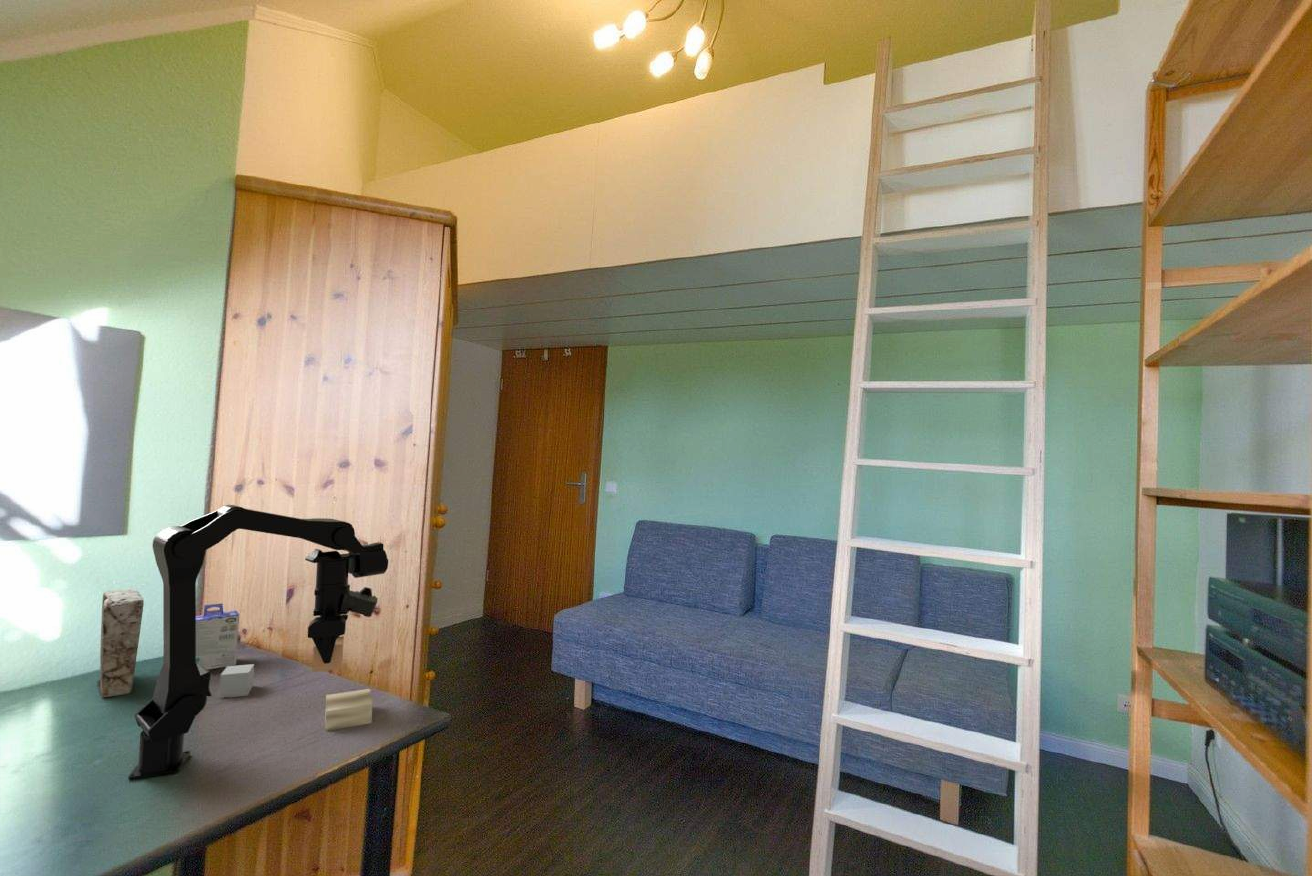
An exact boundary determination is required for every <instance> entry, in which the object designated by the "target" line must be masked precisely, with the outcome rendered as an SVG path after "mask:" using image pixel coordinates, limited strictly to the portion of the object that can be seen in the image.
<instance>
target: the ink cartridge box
mask: <svg viewBox="0 0 1312 876" xmlns="http://www.w3.org/2000/svg"><path fill="white" fill-rule="evenodd" d="M223 605H224V604H223V603H213V604H205V605H204V608H203V614H201V615H196V664H200V665H201V666H202V667H204V668H205V669H206V670H208V671H210V670H214V669H220V668H221V669H222V668H226V667H227V666H237V660H238V659H237V658H238V656H237V655H238V643H239V624H240V614H239V613H238V610H229V611H224V608H223V607H224V606H223ZM212 608H219V609H214V610H208V609H212Z"/></svg>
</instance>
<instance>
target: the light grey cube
mask: <svg viewBox="0 0 1312 876" xmlns="http://www.w3.org/2000/svg"><path fill="white" fill-rule="evenodd" d="M254 673H255V664H254V663H252V664H239V665H233V666H227V667H225V668H224V670H223V671H222V672H221V674H220V676H219V677H220V678H219V679H220V681H219V691H218V692H219V693H218V699H227V698H226V697H228V698H235V697H246V696H249V693H250V692H251V690H252V689H253V686H254ZM251 688H252V689H251ZM224 697H225V698H224Z"/></svg>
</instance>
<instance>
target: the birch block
mask: <svg viewBox="0 0 1312 876" xmlns="http://www.w3.org/2000/svg"><path fill="white" fill-rule="evenodd" d="M324 712H325V713H324V715H325V717H324V731H326V732H327V731H333V730H338V729H345V728H348V727H349V728H350V727H356V726H362V725H368V724H372V721H373V720H372V719H373V699H372V693H371V689H370V688H367V689H366V688H365V689H358V690H352V691H344V692H338V693H330V694H326V696H325V711H324Z"/></svg>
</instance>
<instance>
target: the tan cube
mask: <svg viewBox="0 0 1312 876" xmlns="http://www.w3.org/2000/svg"><path fill="white" fill-rule="evenodd" d="M344 638H345V636H344V635H340V636H339V637H338V638H337V639H336V643H335V646H334V650H333V654H332V658H331V662H330V663H326V664H325V663H324V662H323V660H322V658H321V656H320V654H319V651H318V649H317V647H316V645H315V643H314V644H313V649H312V650H313V651H312V652H313V653H312V669H311V670H312V671H311V672H312V673H319V672H324V671H325V672H326V671H327V672H328V671H334V670H335V671H336V670H342V665H343V657H344V644H345V643H344V642H345V641H344V640H345V639H344Z"/></svg>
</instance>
